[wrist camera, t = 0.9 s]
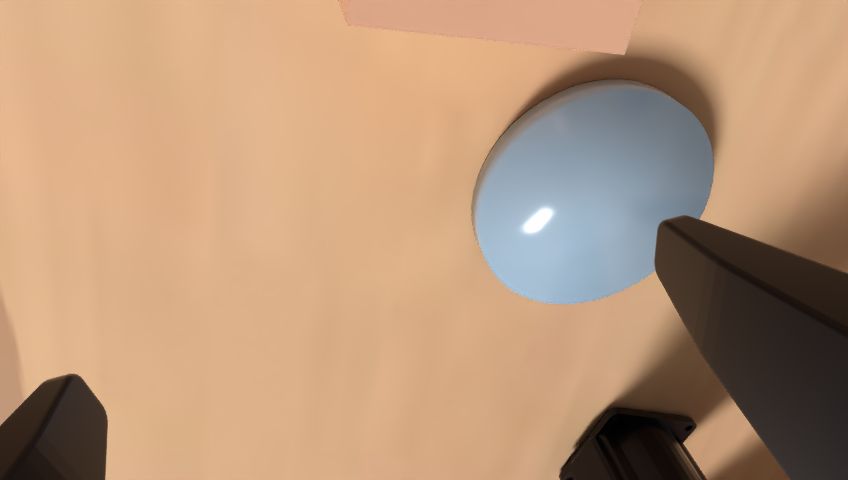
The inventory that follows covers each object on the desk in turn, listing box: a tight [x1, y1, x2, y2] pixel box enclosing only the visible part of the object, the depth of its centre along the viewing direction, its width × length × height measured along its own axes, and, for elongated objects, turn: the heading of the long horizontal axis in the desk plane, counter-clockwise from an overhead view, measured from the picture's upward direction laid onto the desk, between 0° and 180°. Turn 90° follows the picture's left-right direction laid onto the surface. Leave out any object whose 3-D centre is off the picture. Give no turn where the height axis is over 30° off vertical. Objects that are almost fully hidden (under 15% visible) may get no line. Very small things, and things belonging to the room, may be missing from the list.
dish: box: [471, 79, 714, 304], centre depth 25 cm, size 10×10×1 cm
